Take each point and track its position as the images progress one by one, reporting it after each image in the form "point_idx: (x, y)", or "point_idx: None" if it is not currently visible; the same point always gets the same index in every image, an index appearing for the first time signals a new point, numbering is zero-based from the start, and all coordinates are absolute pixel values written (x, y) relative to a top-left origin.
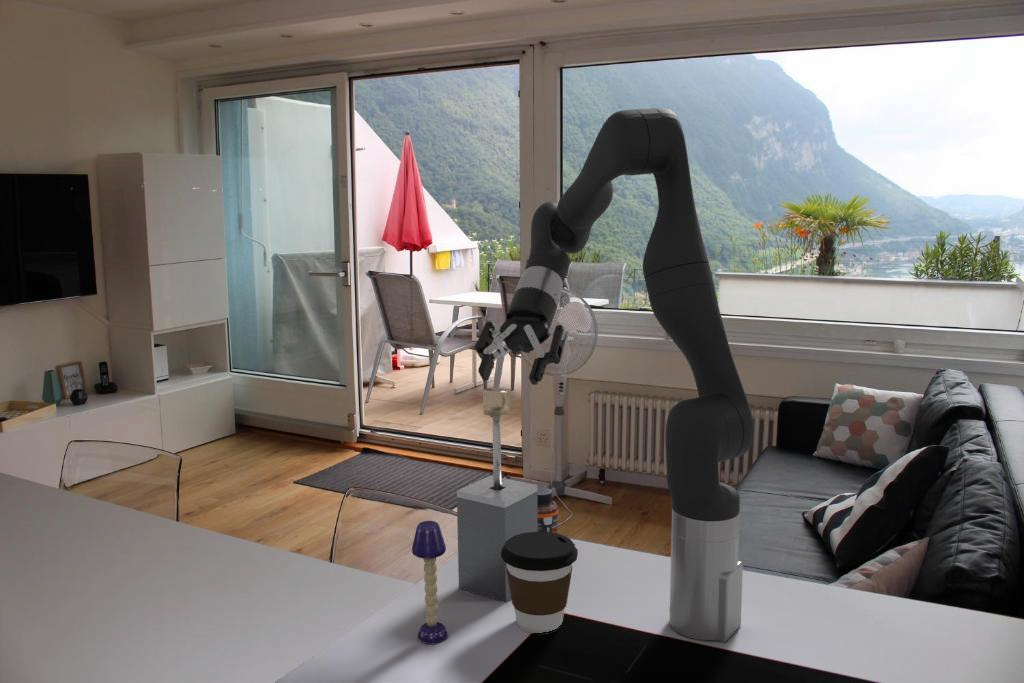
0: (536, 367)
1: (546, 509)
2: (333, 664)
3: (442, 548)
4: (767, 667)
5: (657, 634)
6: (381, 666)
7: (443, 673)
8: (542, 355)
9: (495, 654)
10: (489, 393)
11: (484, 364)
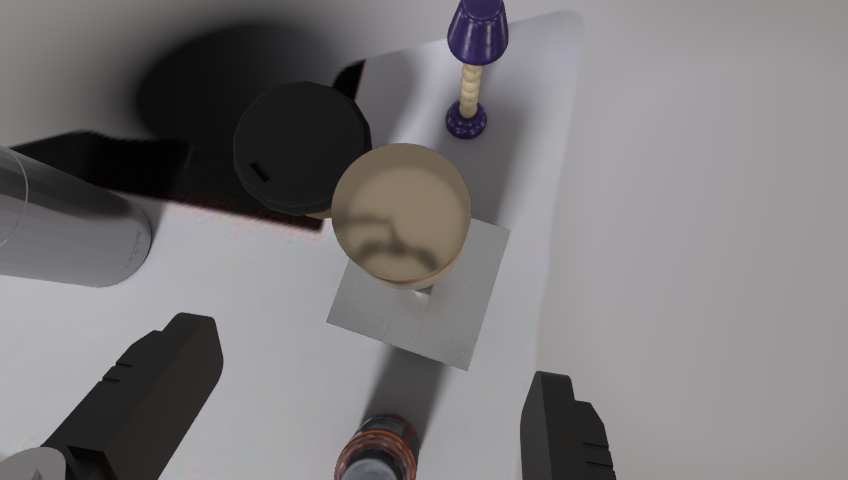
0: (128, 372)
1: (352, 445)
2: (557, 31)
3: (449, 27)
4: (36, 155)
5: (169, 201)
6: None
7: (420, 46)
8: (12, 470)
9: (371, 100)
10: (417, 147)
11: (566, 434)
